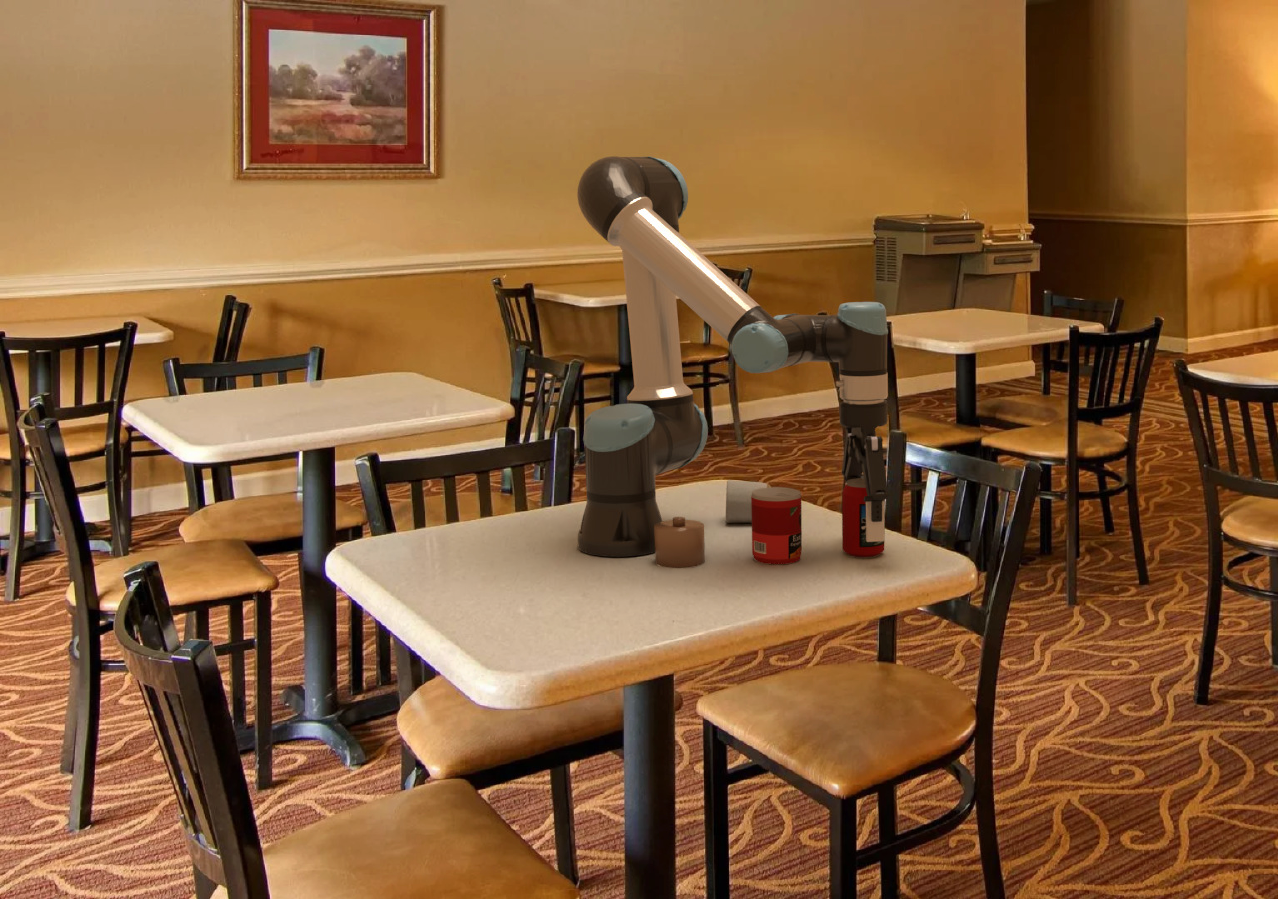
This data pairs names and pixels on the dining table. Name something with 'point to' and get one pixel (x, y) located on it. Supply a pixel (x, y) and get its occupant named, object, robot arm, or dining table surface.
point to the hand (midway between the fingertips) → (864, 531)
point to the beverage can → (857, 522)
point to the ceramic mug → (740, 500)
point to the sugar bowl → (679, 543)
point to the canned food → (776, 525)
